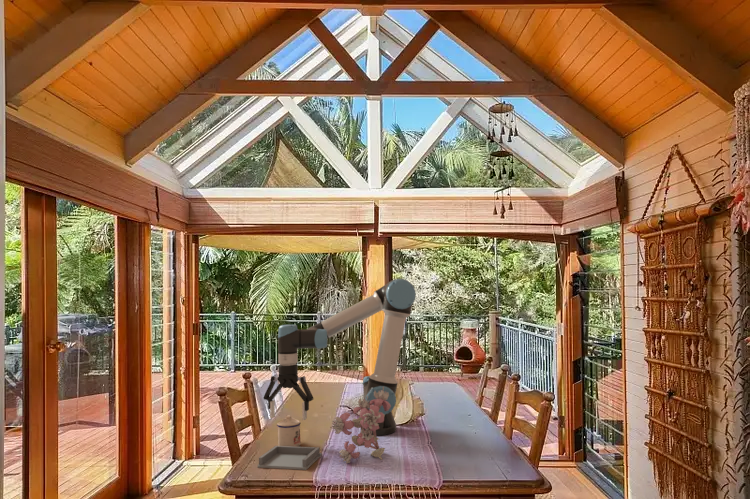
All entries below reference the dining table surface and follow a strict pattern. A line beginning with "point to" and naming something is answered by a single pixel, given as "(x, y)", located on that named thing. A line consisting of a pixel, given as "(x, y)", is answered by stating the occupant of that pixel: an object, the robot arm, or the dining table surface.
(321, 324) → the robot arm
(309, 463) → the grey shallow square tray
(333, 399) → the dining table surface
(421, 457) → the dining table surface
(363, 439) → the flower
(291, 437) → the teacup with lid
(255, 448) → the dining table surface
